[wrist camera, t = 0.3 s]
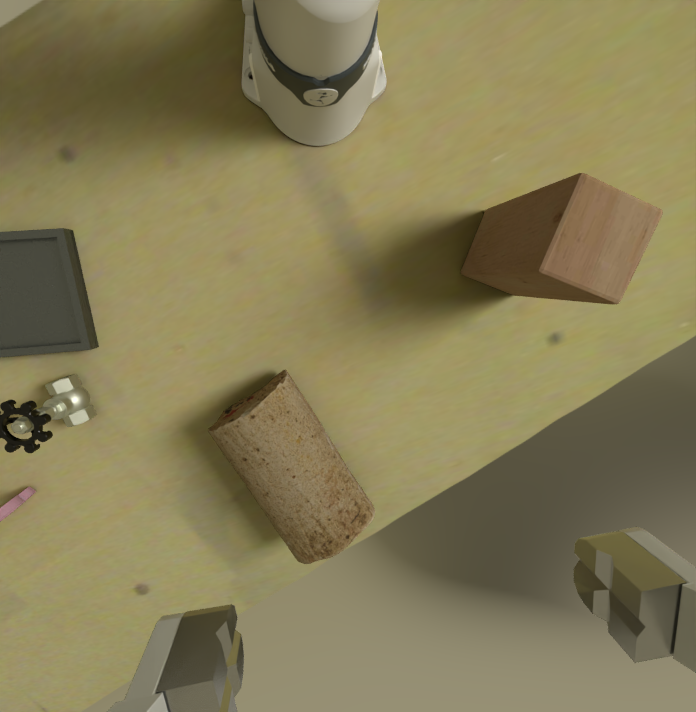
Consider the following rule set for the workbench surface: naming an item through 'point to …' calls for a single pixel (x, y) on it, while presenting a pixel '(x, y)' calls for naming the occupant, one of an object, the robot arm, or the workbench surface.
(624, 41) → the workbench surface
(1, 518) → the decorative key
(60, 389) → the valve
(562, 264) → the wooden block
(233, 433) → the core sample
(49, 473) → the workbench surface
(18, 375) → the workbench surface
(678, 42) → the workbench surface
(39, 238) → the dark gray tray
